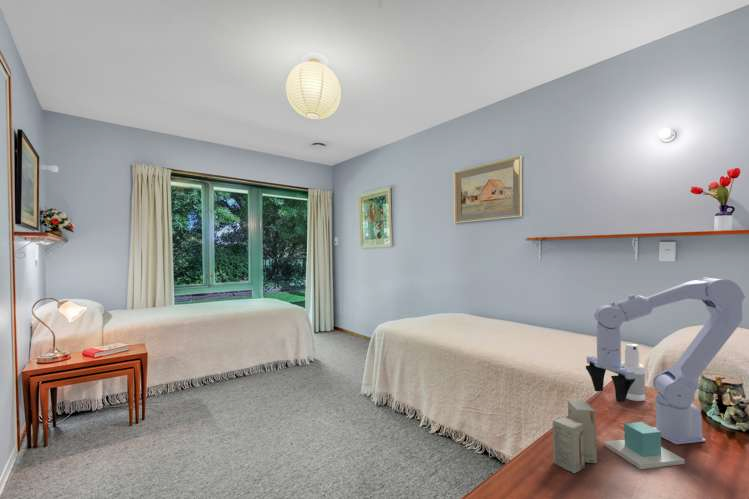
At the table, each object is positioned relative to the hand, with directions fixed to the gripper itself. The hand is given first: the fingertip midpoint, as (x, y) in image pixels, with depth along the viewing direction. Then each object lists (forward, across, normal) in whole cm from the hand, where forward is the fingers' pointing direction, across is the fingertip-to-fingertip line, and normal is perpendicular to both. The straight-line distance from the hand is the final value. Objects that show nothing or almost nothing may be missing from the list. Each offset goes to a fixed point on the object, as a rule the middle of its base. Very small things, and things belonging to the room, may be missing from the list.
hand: (609, 396), depth 100 cm
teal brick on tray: (+7, +14, -4) cm, 16 cm away
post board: (+8, +14, -4) cm, 17 cm away
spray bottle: (+9, -16, +24) cm, 30 cm away
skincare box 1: (+9, +15, -25) cm, 30 cm away
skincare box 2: (+9, +12, -19) cm, 24 cm away
